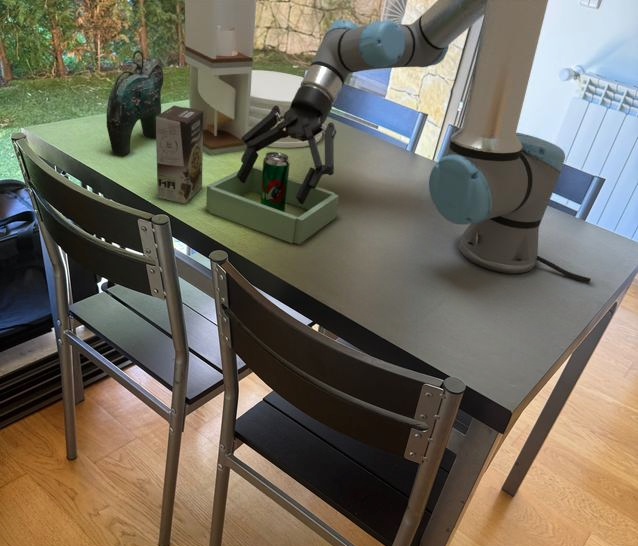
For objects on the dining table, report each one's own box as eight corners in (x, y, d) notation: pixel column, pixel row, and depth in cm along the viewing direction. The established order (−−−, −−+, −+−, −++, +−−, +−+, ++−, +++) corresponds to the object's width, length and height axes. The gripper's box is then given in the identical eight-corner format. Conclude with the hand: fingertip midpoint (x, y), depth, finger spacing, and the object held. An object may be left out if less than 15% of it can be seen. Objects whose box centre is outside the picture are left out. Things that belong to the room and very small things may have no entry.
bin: (336, 217, 124) (340, 194, 121) (297, 245, 112) (300, 221, 109) (249, 186, 131) (251, 164, 128) (204, 210, 119) (204, 186, 116)
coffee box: (187, 204, 120) (187, 122, 110) (156, 198, 120) (153, 115, 110) (203, 188, 127) (204, 110, 117) (174, 182, 127) (173, 103, 118)
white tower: (185, 138, 149) (185, -26, 127) (221, 134, 155) (227, -24, 134) (210, 155, 142) (214, -16, 121) (247, 149, 148) (257, -14, 127)
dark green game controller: (147, 129, 150) (144, 42, 138) (171, 135, 149) (170, 48, 137) (103, 153, 134) (95, 57, 122) (129, 160, 133) (124, 63, 121)
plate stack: (320, 154, 153) (327, 107, 146) (210, 138, 151) (211, 91, 144) (322, 120, 175) (328, 79, 168) (226, 107, 173) (228, 64, 166)
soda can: (289, 215, 122) (295, 158, 114) (271, 221, 119) (276, 162, 111) (272, 206, 124) (277, 149, 117) (254, 211, 121) (258, 153, 114)
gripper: (375, 124, 119) (329, 218, 117) (268, 92, 126) (224, 180, 124) (369, 101, 112) (320, 201, 110) (257, 69, 119) (209, 161, 117)
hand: (269, 190), depth 117 cm, fingers open, 13 cm apart
